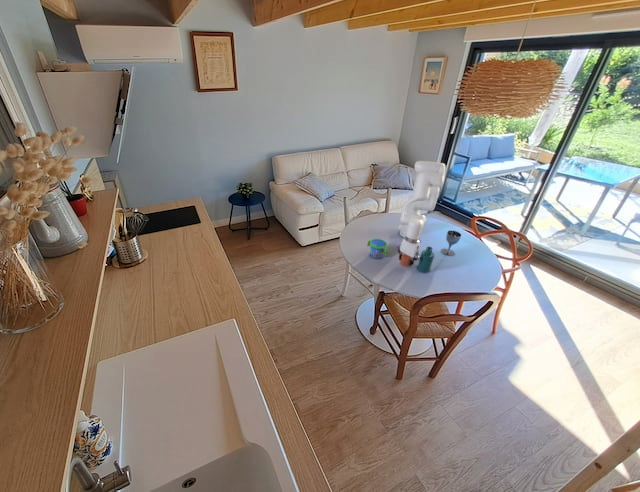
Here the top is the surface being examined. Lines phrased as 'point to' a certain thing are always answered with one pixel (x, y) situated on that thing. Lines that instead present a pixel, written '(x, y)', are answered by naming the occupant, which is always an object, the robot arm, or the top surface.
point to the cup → (405, 260)
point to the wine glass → (451, 241)
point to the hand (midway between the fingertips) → (405, 261)
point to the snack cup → (377, 248)
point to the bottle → (426, 260)
